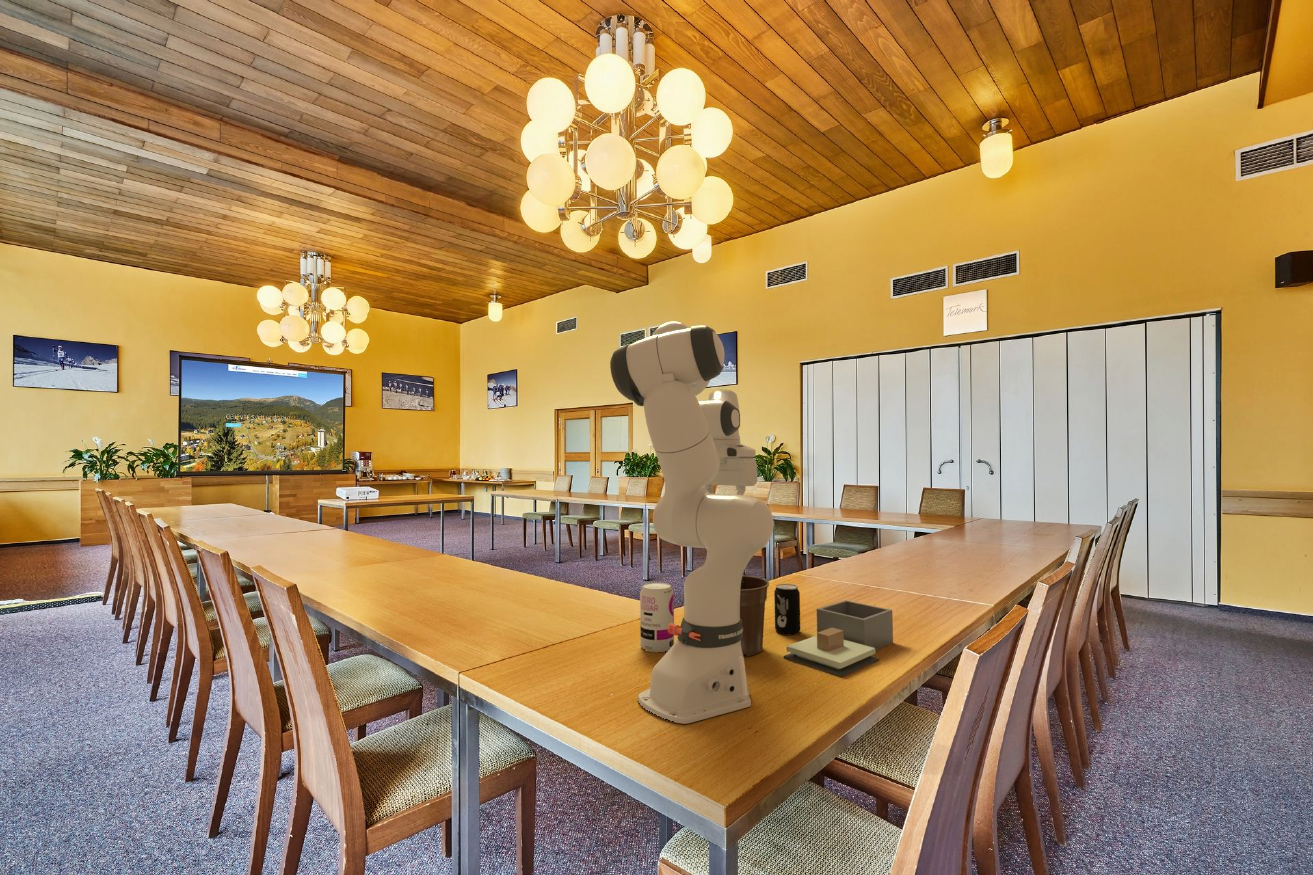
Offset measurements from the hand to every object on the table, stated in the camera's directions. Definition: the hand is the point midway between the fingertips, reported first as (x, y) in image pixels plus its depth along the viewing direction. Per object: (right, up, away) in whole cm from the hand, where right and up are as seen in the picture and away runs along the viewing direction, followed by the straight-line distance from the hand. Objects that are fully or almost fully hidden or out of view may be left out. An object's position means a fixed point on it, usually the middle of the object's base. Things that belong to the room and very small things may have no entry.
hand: (724, 502), depth 150 cm
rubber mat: (+21, -33, -22) cm, 46 cm away
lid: (+21, -33, -22) cm, 45 cm away
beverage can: (+16, -34, -2) cm, 38 cm away
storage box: (+31, -34, -11) cm, 47 cm away
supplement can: (-18, -34, -14) cm, 41 cm away
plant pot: (+1, -34, -15) cm, 37 cm away
